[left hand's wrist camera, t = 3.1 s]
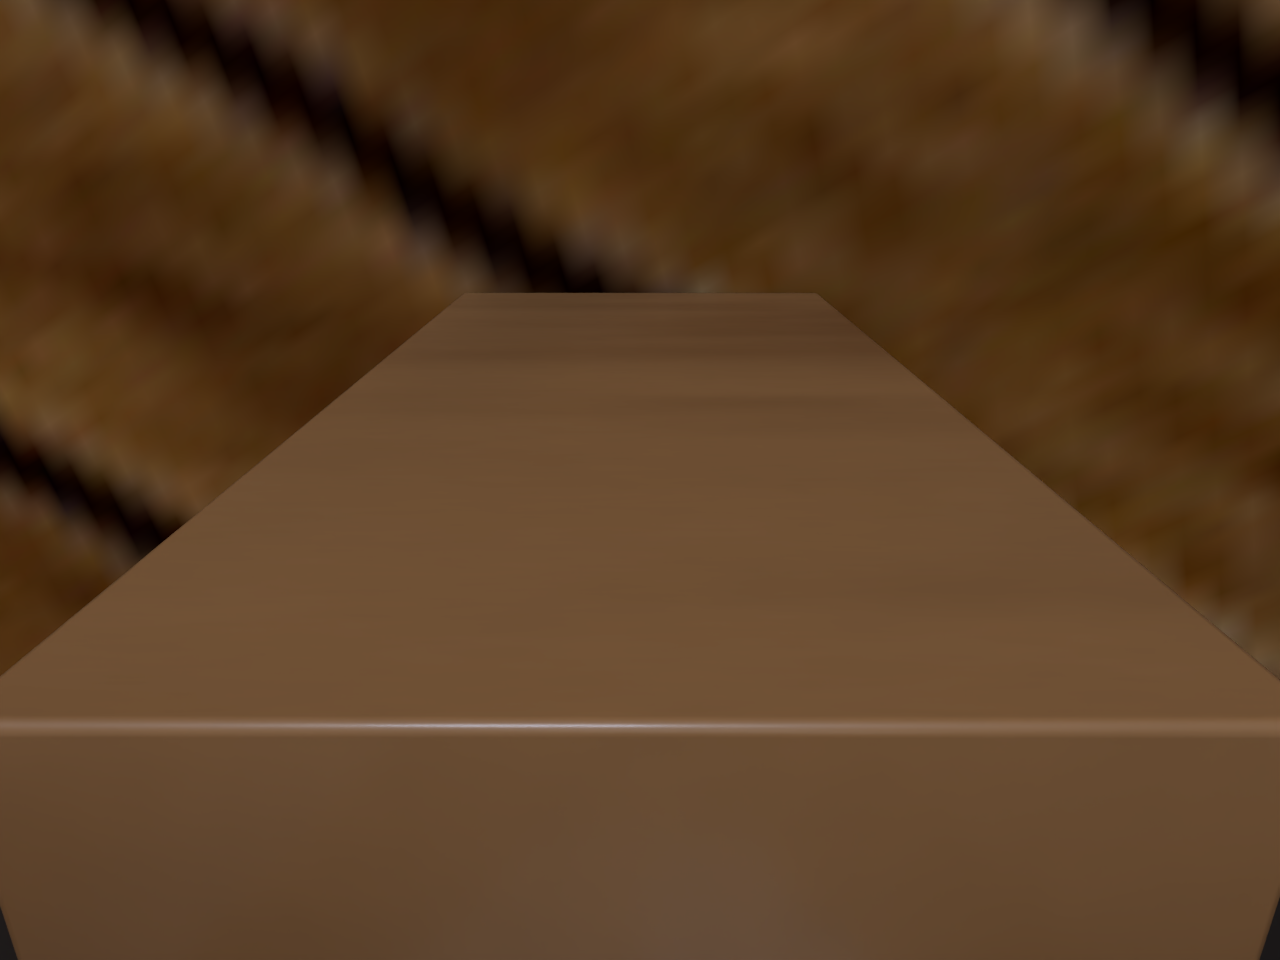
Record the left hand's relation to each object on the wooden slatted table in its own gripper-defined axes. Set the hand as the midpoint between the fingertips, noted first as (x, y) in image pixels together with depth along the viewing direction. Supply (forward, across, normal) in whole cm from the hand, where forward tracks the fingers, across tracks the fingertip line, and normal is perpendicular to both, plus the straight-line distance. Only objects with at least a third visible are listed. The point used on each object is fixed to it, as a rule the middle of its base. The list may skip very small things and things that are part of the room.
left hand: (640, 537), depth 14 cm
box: (+3, 0, -7) cm, 7 cm away
